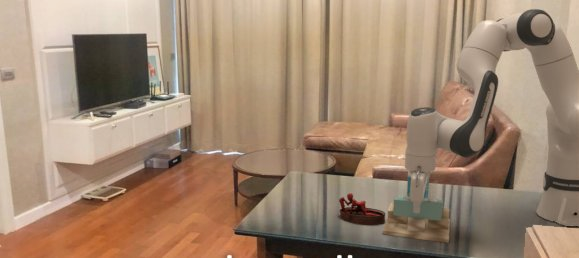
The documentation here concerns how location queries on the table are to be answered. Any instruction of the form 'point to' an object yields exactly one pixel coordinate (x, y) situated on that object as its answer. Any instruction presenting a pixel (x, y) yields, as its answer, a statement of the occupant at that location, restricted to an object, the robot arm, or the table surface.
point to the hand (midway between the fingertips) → (417, 206)
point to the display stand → (418, 226)
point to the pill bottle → (409, 188)
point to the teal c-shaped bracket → (426, 208)
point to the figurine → (360, 212)
